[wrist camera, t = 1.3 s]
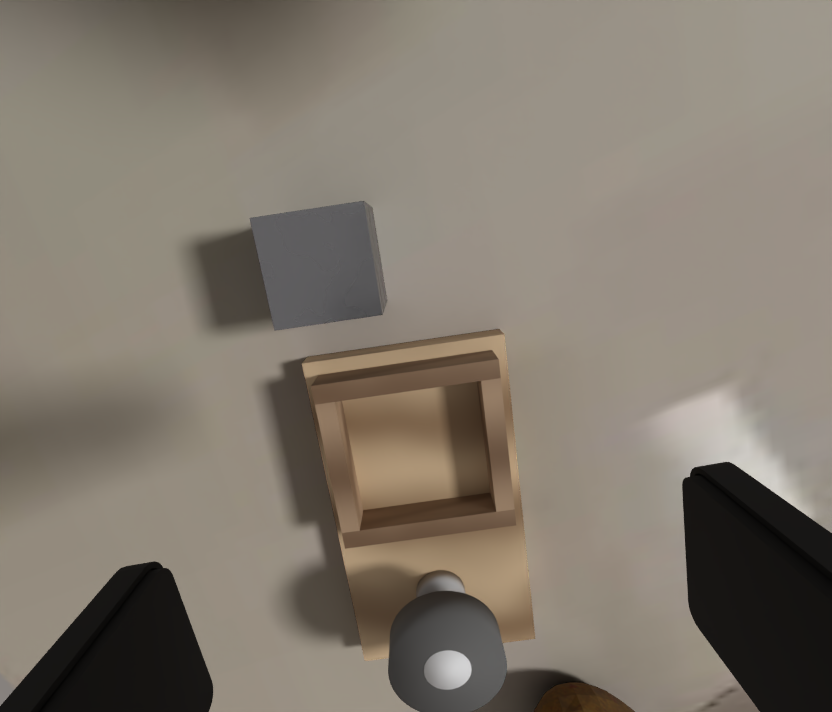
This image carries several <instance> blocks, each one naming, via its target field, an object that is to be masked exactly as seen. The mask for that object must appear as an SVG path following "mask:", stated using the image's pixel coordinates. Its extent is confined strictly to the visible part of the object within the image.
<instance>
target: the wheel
mask: <svg viewBox="0 0 832 712" xmlns="http://www.w3.org/2000/svg"><path fill="white" fill-rule="evenodd" d="M506 672H507V661H506V656H505V652H504V647H503V643H502V639H501V634H500V630H499V626H498V623H497V620H496V618H495V616H494V614H493V613H492V611H491V610H490V609H489V608H488V607H487V606H486V605H485V604H484V603H483V602H481V601H480V600H478V599H477V598H475V597H473V596H471V595H468V594H465V593H461V592H456V591H436V592H431V593H428V594H424V595H422V596H419V597H417V598H415V599H414V600H412V601H410V602H409V603H408V604H406V605H405V606H404V607H403V608H402V609H401V610H400V611H399V613H398V614H397V615H396V617H395V619H394V621H393V623H392V626H391V630H390V643H389V665H388V674H389V680H390V683H391V685H392V688H393V690H394V691H395V693H396V694H397V695H398V697H399V698H400V699H401V700H402V701H403V702H405V703H406V704H407V705H409V706H410V707H412V708H413V709H415V710H417V711H420V712H472V711H474V710H477V709H478V708H480V707H482V706H484V705H485V704H486V703H488V702H489V701H490V700H491V699H492V698H494V696H495V695H496V694H497V693H498V692H499V690H500V689H501V687H502V685H503V683H504V681H505V677H506Z"/></svg>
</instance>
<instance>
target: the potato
mask: <svg viewBox="0 0 832 712" xmlns="http://www.w3.org/2000/svg"><path fill="white" fill-rule="evenodd" d="M534 712H635V711H634V710H632V709H631V708H630V707H628V706H627V705H626V704H625V703H623V702H622V701H621V700H619V699H618V698H616V697H614V696H613V695H611V694H610V693H608V692H607V691H605V690H602V689H600V688H598V687H595V686H592V685H589V684H585V683H574V682H569V683H564V684H560V685H556V686H554V687H553V688H551V689H550V690H549V691H547V692H546V693H545V694H544V696H543V697H542V699H541V700H540V702H539V703H538V705H537V707H536V708H535V710H534Z"/></svg>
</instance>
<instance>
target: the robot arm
mask: <svg viewBox="0 0 832 712" xmlns="http://www.w3.org/2000/svg"><path fill="white" fill-rule="evenodd" d="M682 489H683V509H684V528H685V547H686V566H687V585H688V603H689V608H690V612H691V615H692V617H693V619H694V621H695V623H696V625H697V627H698V628H699V629H700V631H701V632H702V634H703V635H704V636H705V638H706V639H707V640H708V642H709V643H710V644H711V646H712V647H713V648H714V650H715V651H716V653H717V654H718V655H719V657H720V658H721V659H722V661H723V662H724V663H725V665H726V666H727V667H728V669H729V670H730V672H731V673H732V674H733V676H734V677H735V678H736V680H737V681H738V682H739V684H740V685H741V686H742V688H743V689H744V691H745V692H746V693H747V695H748V696H749V697H750V699H751V700H752V701H753V703H754V704H755V705H756V707H757V708H758V710H759V711H760V712H832V533H830V532H829V531H828V530H826V529H825V528H823V527H822V526H821V525H819V524H818V523H816V522H815V521H813V520H812V519H811V518H809V517H808V516H806V515H805V514H804V513H802V512H801V511H799V510H798V509H796V508H795V507H794V506H792V505H791V504H789V503H788V502H787V501H785V500H784V499H782V498H781V497H779V496H778V495H777V494H775V493H774V492H772V491H771V490H770V489H768V488H767V487H765V486H764V485H762V484H761V483H760V482H758V481H757V480H755V479H754V478H753V477H751V476H750V475H748V474H747V473H745V472H744V471H743V470H741V469H740V468H738V467H737V466H736V465H734V464H732V463H730V462H723V463H717V464H712V465H706V466H700V467H695V468H693V469H692V471H691V473H690V477H687V478H685V479H684V480H683V484H682ZM212 698H213V684H212V680H211V678H210V675H209V672H208V669H207V667H206V664H205V661H204V659H203V656H202V653H201V650H200V648H199V645H198V642H197V640H196V637H195V634H194V631H193V629H192V626H191V623H190V621H189V618H188V615H187V612H186V610H185V607H184V604H183V602H182V599H181V596H180V593H179V591H178V588H177V585H176V583H175V580H174V577H173V575H172V573H171V571H170V570H169V569H167V568H163V567H162V565H161V564H159V563H158V562H149V563H143V564H137V565H131V566H126V567H123V568H121V569H119V570H118V571H117V572H116V573H115V574H114V575H113V577H112V578H111V579H110V580H109V581H108V582H107V584H106V585H105V586H104V587H103V588H102V589H101V590H100V592H99V593H98V594H97V595H96V596H95V597H94V599H93V600H92V601H91V602H90V603H89V604H88V605H87V607H86V608H85V609H84V610H83V611H82V612H81V614H80V615H79V616H78V617H77V618H76V619H75V620H74V622H73V623H72V624H71V625H70V626H69V627H68V629H67V630H66V631H65V632H64V633H63V634H62V635H61V637H60V638H59V639H58V640H57V641H56V642H55V644H54V645H53V646H52V647H51V648H50V649H49V650H48V652H47V653H46V654H45V655H44V656H43V657H42V659H41V660H40V661H39V662H38V663H37V664H36V665H35V667H34V668H33V669H32V670H31V671H30V672H29V674H28V675H27V676H26V677H25V678H24V679H23V680H22V682H21V683H20V684H19V685H18V686H17V687H16V689H15V690H14V691H13V692H12V693H11V695H9V697H8V698H7V699H6V700H5V701H4V702H3V704H2V705H1V706H0V712H209V709H210V706H211V703H212Z"/></svg>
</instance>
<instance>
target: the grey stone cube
mask: <svg viewBox="0 0 832 712" xmlns="http://www.w3.org/2000/svg"><path fill="white" fill-rule="evenodd" d="M250 222H251V226H252V231H253V235H254V240H255V244H256V249H257V253H258V258H259V262H260V267H261V271H262V276H263V280H264V285H265V289H266V294H267V299H268V303H269V308H270V312H271V317H272V321H273V326H274V330H281V329H288V328H295V327H302V326H309V325H316V324H323V323H330V322H336V321H343V320H350V319H357V318H364V317H371V316H378V315H383V312H384V309H385V306H386V303H387V296H386V289H385V283H384V277H383V271H382V264H381V258H380V252H379V245H378V239H377V233H376V227H375V220H374V214H373V208H372V207H371V206H370V205H369V204H367V203H366V202H365V201H359V202H353V203H346V204H339V205H333V206H326V207H320V208H313V209H306V210H300V211H293V212H286V213H280V214H273V215H267V216H260V217H253V218H250Z"/></svg>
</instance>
